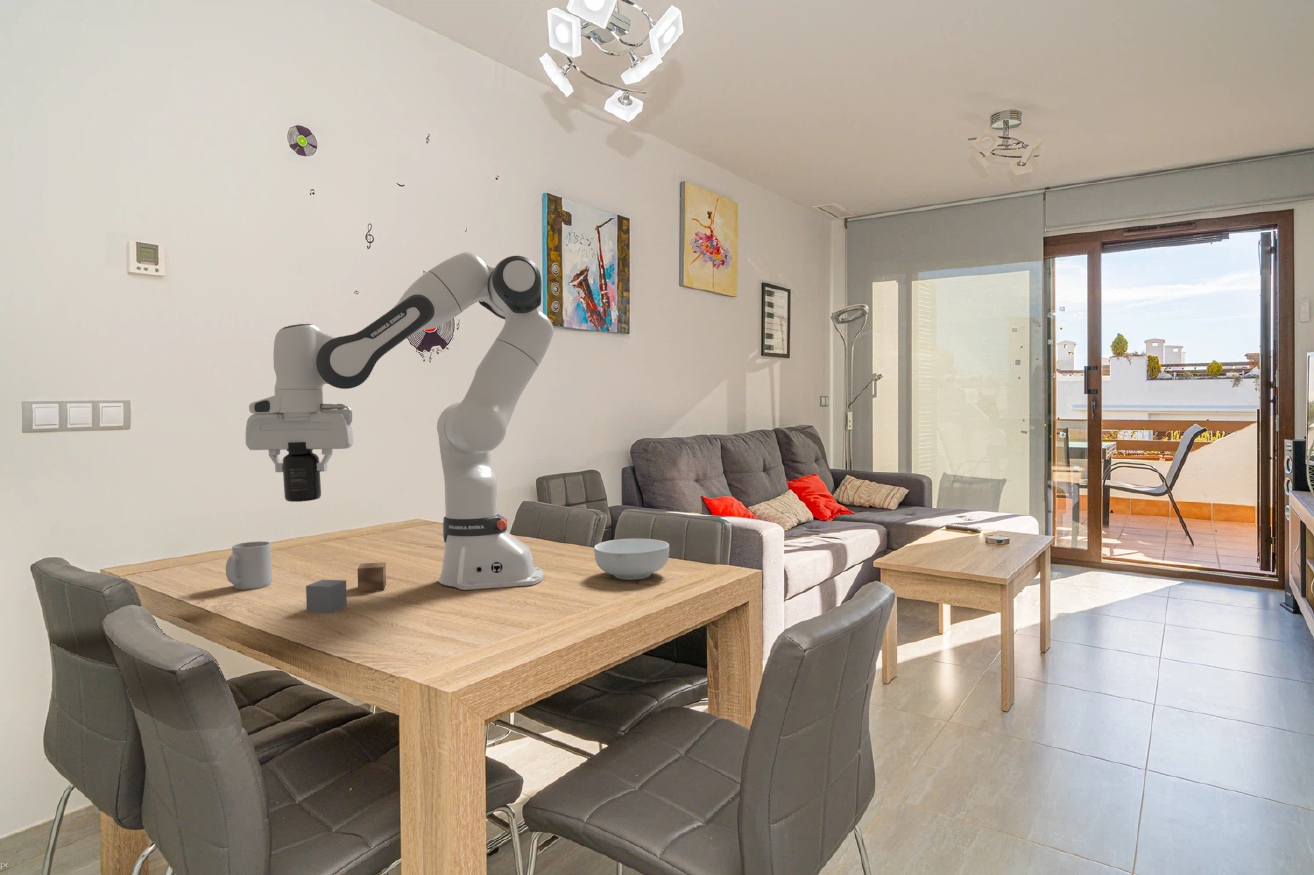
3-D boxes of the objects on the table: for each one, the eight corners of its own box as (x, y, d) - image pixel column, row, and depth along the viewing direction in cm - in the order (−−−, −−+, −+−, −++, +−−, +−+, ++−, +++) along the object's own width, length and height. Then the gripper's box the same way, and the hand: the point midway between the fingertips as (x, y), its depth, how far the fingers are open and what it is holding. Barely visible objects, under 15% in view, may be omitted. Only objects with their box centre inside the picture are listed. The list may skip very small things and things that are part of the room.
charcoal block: (346, 606, 142) (346, 580, 142) (330, 613, 137) (330, 586, 137) (323, 605, 143) (322, 579, 143) (306, 612, 138) (306, 585, 138)
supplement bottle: (328, 497, 154) (325, 440, 153) (303, 503, 147) (300, 443, 146) (302, 495, 156) (299, 439, 155) (276, 501, 150) (273, 442, 148)
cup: (279, 582, 161) (278, 542, 160) (241, 594, 151) (240, 551, 151) (253, 580, 163) (251, 540, 162) (214, 592, 153) (212, 549, 153)
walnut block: (386, 585, 158) (385, 562, 158) (383, 590, 154) (383, 567, 153) (361, 586, 157) (360, 563, 157) (358, 592, 152) (357, 568, 152)
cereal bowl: (626, 564, 177) (626, 535, 176) (684, 573, 167) (683, 542, 167) (578, 578, 163) (578, 546, 163) (638, 589, 153) (638, 555, 153)
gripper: (356, 403, 154) (358, 469, 155) (255, 404, 153) (257, 471, 153) (346, 403, 148) (348, 472, 149) (240, 404, 146) (242, 474, 147)
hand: (301, 471), depth 151 cm, fingers closed on supplement bottle, 7 cm apart
